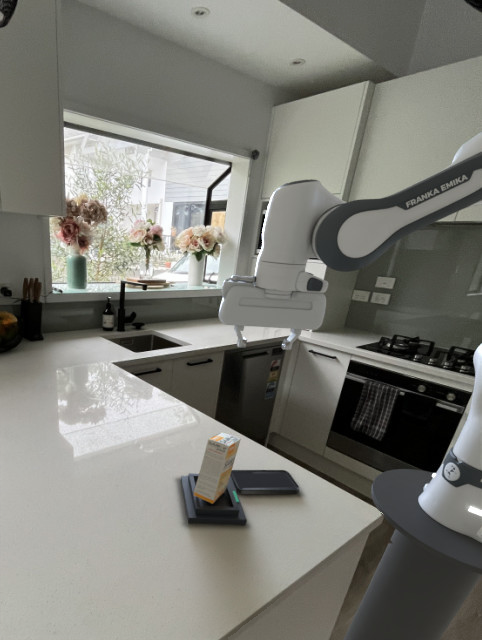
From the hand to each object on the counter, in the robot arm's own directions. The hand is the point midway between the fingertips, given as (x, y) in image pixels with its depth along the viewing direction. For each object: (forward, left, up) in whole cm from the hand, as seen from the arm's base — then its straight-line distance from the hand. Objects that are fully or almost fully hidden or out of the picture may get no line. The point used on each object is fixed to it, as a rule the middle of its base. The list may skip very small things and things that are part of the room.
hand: (263, 347), depth 78 cm
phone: (-6, +2, -33) cm, 34 cm away
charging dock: (+8, +9, -33) cm, 35 cm away
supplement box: (+9, +10, -31) cm, 33 cm away
